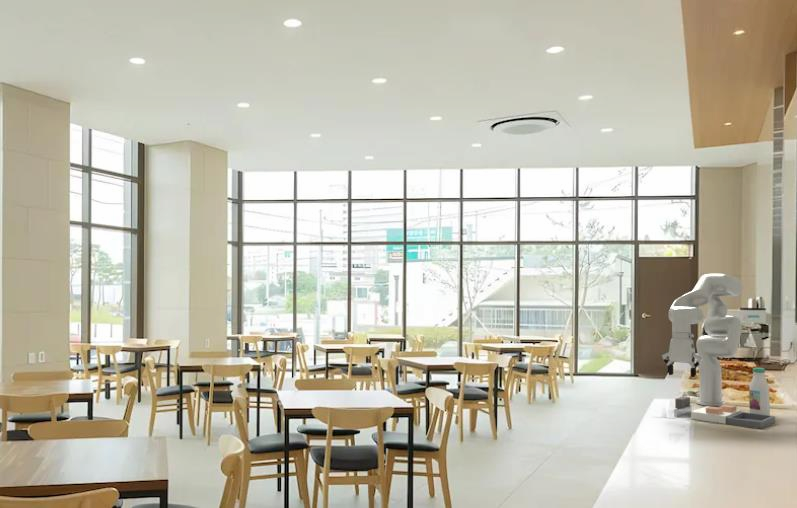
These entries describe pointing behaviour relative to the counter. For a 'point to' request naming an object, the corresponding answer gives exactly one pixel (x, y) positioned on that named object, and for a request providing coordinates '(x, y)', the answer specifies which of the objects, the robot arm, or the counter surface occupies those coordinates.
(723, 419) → the offwhite board
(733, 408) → the tile
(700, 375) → the robot arm
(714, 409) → the tile
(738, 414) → the tray
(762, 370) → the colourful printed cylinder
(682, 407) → the dark block with bar
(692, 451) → the counter surface
